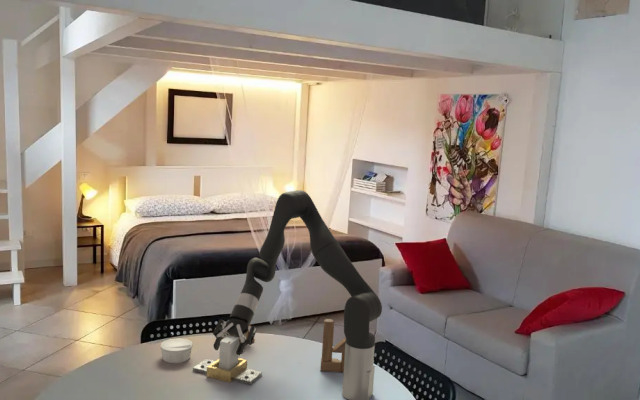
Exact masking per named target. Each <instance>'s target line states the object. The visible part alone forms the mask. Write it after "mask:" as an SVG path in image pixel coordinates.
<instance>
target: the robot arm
mask: <svg viewBox="0 0 640 400" xmlns="http://www.w3.org/2000/svg"><path fill="white" fill-rule="evenodd" d="M297 218H300V220H302V222H303V223H304V225H305V227H306V228H307V230H308V232H309V233H308V234H309V241H310V242H309V243H310V244H309V245H310V251H311V253H312V256H313V257H314V259H315V260H316V262H317V263H318V265H319V267H320V268H321V269H322V271H324V273H326V274H327V275H329V277H331V278H333V279H334V280H335V281H337V283H339V284H340V285H342V286H343V287H344V288H345V290H346V291H347V292H348V293H349V296H351V297H349V298H348V299H347V300H346V302H345V304H344V309H343V310H344V311H343V334H344V338H345V337H346V343H345V358H344V373H342V374H343V375H342V376H343V377H342V387H341V388H342V389H341V391H342V393H341V394H342V396H343V397H344V398H345V399H347V400H370V399H371V397H372V396H373V394H374V384H375V383H374V382H375V381H374V379H375V368H376V367H375V365H374V360H375V359H374V358H375V356H374V355H375V347H376V337H375V334H373V333H372V332H371V331H370V322H373V321H375V320H377V319H378V318H379V317H380V316H381V315H382V313H383V305H382V302H381V299H380V297H378V295H377V293H376V292H375V291H374V290H373V289H372V288H371V286H370V285H369V284H368V283H367V282H366V280H365V279H364V278H363V277H362V275H361V274H360V273H359V271H358V270H357V268H356V267H355V265H354V264H353V263H352V261H351V259H350V258H349V257H348V256H347V254H346V252H345V250H344V249H343V248H342V245H340V243H339V241H338V240H337V239H336V237H335V236H334V235H333V234H332V232H331V230H330V229H329V227H328V226H327V223H326V222H325V221H324V219H323V217H322V216H321V214H320V213H319V210H318V209H317V206H316V204H315V203H314V201H313V199H312V198H311V196H310V195H309V193H307V192H306V191H305V190H302V189H297V190H291V191H285V192H283V193H281V194H280V195H279V196H278V198H277V201H276V204H275V207H274V210H273V215H272V218H271V221H270V225H269V228H268V232H267V235H266V237H265V238H264V239H265V240H264V241H263V244H262V246H261V248H260V249H259V253H258V255H259V258H258V257H253V258H251V259H250V260H249V261H248V263H247V266H246V275H245V276H246V277H245V281H244V284H243V288H242V289H241V292H240V294H239V296H238V298H237V299H236V302H235V303H234V306H233V308H232V311H231V313H230V315H229V318H228V320H227V321H225V320H223V319H221V318H220V319H219V320H218V323H217V324H216V326H215V328H214V330H213V333H212V335H213V336H214V337H215V341H214V343H213V349H214V350H215V351H219V350H220V341H222V340H223V339H225V338H226V337H228V336H229V335H230V336H236V337H240V339H241V343H239V346H238V348H237V351H236V354H237V355H239V356H240V355H242V354H243V353H244V350H245V347H246V346H248V345H249V346H251V345H252V344H253V343H254V342H253V339H255V335H256V333H257V329H256V327H255V326H254V325H251V323H252V321H253V319H254V315H255V313H256V311H257V308H258V304H259V301H260V300H261V297H262V294H263V291H264V287H263V286H262V284H261V283H260V282H258V281H257V280H259V281H262V282H264V283H270V282H272V280H273V279H274V278H275V275H276V268H277V263H278V259H279V257H280V255H281V253H282V251H283V248H284V246H285V243H286V241H285V240H286V239H285V238H286V237H285V229H286V226H288V223H289V222H290V221H291V220H292V219H297ZM256 279H257V280H256ZM249 325H250V326H251V327H250V326H249ZM248 330H249V334H248V337H247V340H246V338H245V334H244V333H246V332H247V331H248ZM239 356H238V357H239Z"/></svg>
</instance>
